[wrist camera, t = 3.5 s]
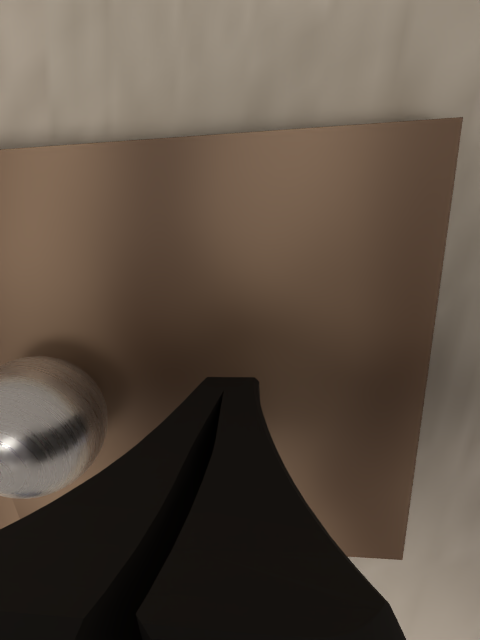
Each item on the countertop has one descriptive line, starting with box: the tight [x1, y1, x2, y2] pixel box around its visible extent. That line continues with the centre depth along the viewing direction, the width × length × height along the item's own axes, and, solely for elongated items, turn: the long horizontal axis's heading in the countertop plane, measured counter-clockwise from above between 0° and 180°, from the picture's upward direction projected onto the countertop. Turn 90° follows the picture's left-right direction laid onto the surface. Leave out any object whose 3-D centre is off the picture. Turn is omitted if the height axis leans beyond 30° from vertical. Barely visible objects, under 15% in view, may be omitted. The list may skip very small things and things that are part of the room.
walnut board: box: [0, 117, 463, 560], centre depth 13 cm, size 19×13×2 cm
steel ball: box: [0, 356, 108, 499], centre depth 11 cm, size 4×4×4 cm
